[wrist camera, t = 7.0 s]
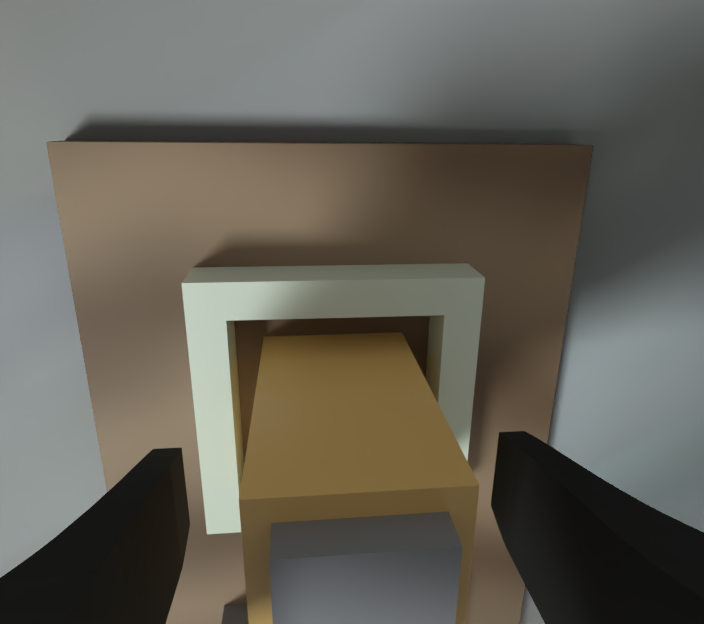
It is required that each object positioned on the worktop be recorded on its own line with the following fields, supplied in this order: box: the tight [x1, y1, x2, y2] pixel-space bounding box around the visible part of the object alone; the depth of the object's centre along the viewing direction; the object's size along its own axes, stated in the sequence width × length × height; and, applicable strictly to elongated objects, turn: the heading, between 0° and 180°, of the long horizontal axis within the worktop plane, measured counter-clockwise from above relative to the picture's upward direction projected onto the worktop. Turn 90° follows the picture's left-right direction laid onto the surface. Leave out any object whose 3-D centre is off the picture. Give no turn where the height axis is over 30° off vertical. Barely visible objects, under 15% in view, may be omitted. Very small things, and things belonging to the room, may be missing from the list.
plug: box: [239, 332, 480, 624], centre depth 12 cm, size 4×4×8 cm
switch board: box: [46, 141, 593, 624], centre depth 18 cm, size 26×14×1 cm, turn 179°
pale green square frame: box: [181, 263, 485, 534], centre depth 15 cm, size 8×8×2 cm
